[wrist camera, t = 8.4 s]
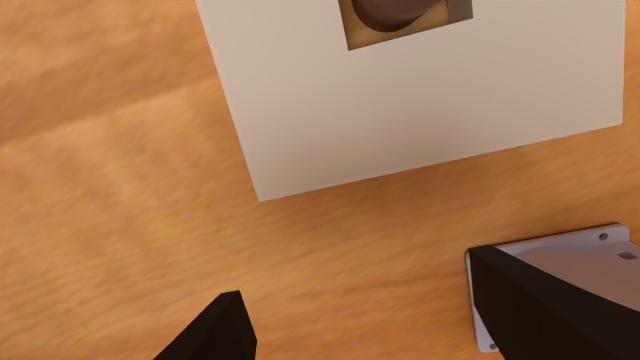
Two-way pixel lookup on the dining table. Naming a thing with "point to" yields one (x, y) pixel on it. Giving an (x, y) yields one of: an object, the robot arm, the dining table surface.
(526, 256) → the robot arm
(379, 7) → the peg
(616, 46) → the socket board
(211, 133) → the dining table surface
